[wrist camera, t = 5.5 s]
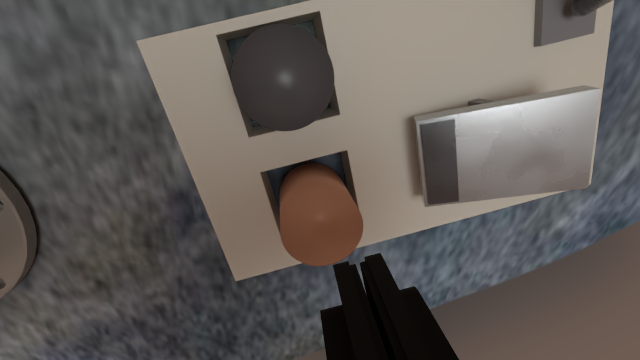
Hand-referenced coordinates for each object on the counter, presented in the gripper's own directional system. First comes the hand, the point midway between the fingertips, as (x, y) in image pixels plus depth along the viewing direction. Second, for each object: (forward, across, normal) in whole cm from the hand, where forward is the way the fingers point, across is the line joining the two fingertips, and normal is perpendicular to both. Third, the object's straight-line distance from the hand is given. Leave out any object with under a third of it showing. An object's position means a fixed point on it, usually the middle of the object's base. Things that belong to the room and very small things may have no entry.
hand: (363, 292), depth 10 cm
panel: (+11, -5, -3) cm, 12 cm away
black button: (+9, +1, -7) cm, 11 cm away
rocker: (+6, -9, -1) cm, 11 cm away
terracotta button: (+9, +1, 0) cm, 9 cm away
